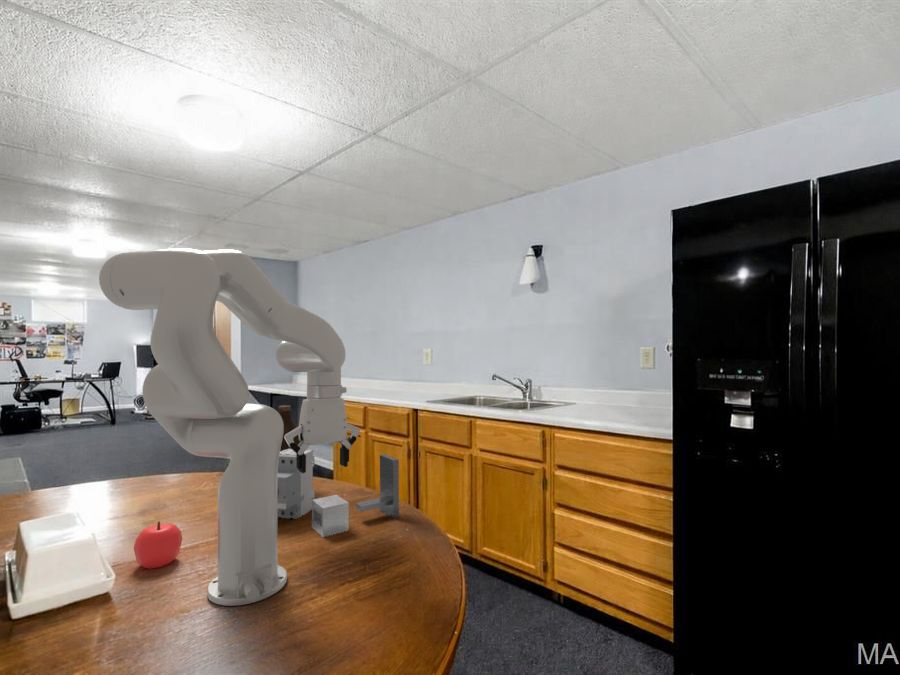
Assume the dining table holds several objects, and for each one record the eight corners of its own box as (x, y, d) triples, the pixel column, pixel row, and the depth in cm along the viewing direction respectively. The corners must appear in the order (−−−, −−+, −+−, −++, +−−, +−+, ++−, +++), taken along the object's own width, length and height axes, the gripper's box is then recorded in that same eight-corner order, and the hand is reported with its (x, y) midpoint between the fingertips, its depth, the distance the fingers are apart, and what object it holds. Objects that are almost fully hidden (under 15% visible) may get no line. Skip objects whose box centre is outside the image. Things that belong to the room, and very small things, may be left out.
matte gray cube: (348, 530, 103) (348, 502, 103) (322, 537, 100) (322, 508, 100) (336, 521, 109) (336, 494, 109) (311, 527, 105) (311, 499, 105)
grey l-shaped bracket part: (399, 517, 111) (398, 459, 111) (365, 526, 106) (364, 465, 106) (385, 509, 116) (385, 454, 117) (352, 517, 111) (352, 459, 112)
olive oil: (305, 497, 127) (305, 407, 127) (264, 502, 123) (264, 409, 123) (302, 486, 136) (302, 402, 137) (264, 491, 132) (264, 404, 133)
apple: (133, 560, 89) (134, 519, 89) (181, 550, 94) (181, 511, 94) (132, 577, 83) (133, 533, 83) (183, 565, 87) (183, 523, 87)
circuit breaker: (253, 526, 106) (253, 461, 106) (288, 505, 120) (288, 448, 120) (281, 529, 104) (281, 463, 105) (314, 507, 118) (314, 449, 118)
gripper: (353, 390, 112) (352, 460, 111) (280, 393, 102) (279, 470, 101) (365, 392, 106) (365, 466, 105) (290, 396, 96) (289, 478, 95)
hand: (323, 468), depth 103 cm, fingers open, 9 cm apart
